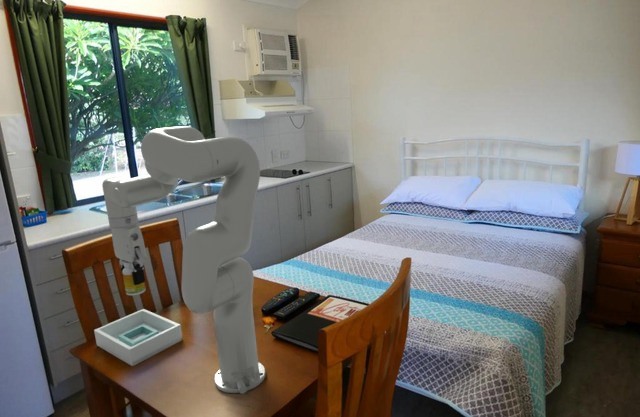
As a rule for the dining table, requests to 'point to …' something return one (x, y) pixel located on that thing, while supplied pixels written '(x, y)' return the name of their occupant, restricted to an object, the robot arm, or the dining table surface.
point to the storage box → (138, 336)
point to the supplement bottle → (131, 280)
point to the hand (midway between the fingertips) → (134, 280)
